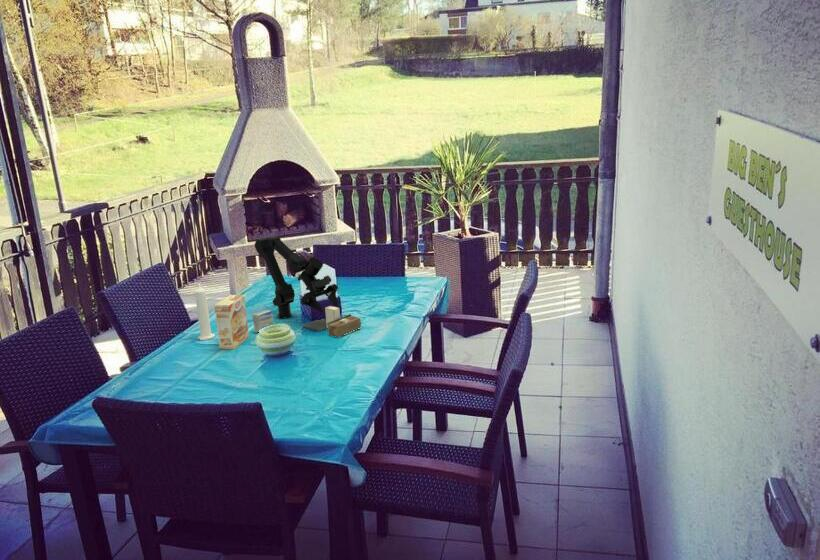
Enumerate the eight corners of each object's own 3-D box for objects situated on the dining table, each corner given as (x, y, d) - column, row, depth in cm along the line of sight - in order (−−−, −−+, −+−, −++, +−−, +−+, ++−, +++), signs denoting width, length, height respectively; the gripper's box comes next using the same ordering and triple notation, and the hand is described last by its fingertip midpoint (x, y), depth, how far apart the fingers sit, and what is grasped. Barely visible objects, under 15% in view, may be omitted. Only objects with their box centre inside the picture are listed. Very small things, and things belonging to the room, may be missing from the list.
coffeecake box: (234, 349, 280) (229, 305, 275) (219, 349, 282) (213, 305, 276) (249, 337, 294) (244, 294, 289) (234, 336, 296) (229, 294, 290)
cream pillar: (326, 328, 299) (325, 307, 297) (331, 326, 302) (330, 305, 299) (336, 331, 296) (334, 309, 293) (341, 329, 298) (339, 308, 295)
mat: (301, 326, 304) (301, 325, 304) (320, 319, 312) (320, 318, 312) (319, 331, 296) (319, 330, 296) (338, 324, 305) (338, 322, 305)
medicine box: (260, 334, 297) (258, 315, 295) (254, 332, 300) (252, 314, 297) (274, 328, 303) (272, 310, 301) (267, 327, 306) (265, 309, 303)
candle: (194, 339, 295) (186, 284, 288) (206, 333, 301) (198, 280, 294) (206, 341, 292) (199, 286, 285) (218, 335, 298) (210, 281, 291)
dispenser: (328, 335, 291) (327, 323, 290) (350, 326, 302) (350, 314, 300) (338, 338, 287) (337, 325, 286) (361, 328, 298) (360, 316, 296)
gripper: (302, 276, 289) (322, 304, 285) (333, 266, 303) (353, 293, 299) (292, 291, 296) (311, 318, 292) (323, 281, 310) (342, 307, 306)
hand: (330, 309), depth 297 cm, fingers open, 9 cm apart
